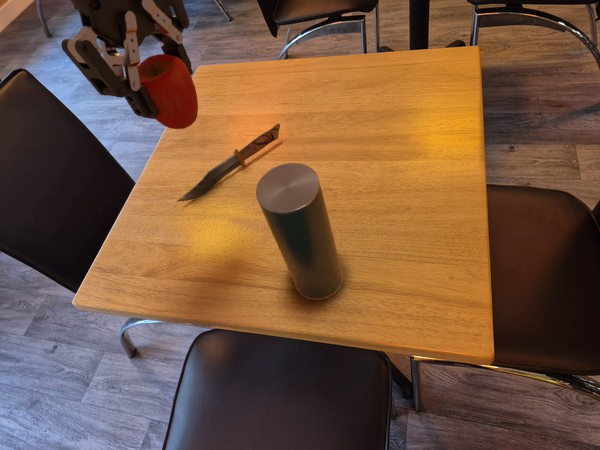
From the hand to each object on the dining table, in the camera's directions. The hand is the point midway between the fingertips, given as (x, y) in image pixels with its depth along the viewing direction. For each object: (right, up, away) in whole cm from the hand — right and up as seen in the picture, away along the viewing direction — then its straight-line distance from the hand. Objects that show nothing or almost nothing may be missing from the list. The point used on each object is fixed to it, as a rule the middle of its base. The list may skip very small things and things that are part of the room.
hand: (168, 95), depth 47 cm
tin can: (+17, -22, +21) cm, 35 cm away
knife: (+2, -4, +39) cm, 39 cm away
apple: (+1, -2, +3) cm, 4 cm away
